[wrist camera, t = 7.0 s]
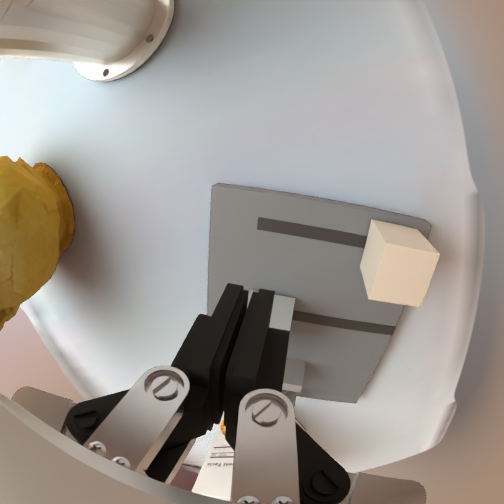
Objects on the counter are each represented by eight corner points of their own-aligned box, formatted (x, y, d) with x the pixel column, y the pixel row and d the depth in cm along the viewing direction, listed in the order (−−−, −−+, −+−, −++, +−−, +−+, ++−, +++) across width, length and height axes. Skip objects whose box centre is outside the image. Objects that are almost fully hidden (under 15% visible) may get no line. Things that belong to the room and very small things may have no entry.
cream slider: (371, 219, 20) (385, 242, 16) (417, 229, 20) (440, 254, 15) (359, 266, 22) (368, 299, 17) (403, 274, 21) (420, 307, 17)
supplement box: (307, 430, 35) (293, 520, 21) (255, 437, 38) (231, 517, 24) (279, 396, 32) (254, 502, 19) (223, 406, 36) (187, 495, 22)
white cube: (250, 289, 25) (234, 323, 20) (295, 298, 24) (289, 334, 20) (246, 325, 27) (232, 360, 22) (287, 333, 26) (280, 371, 21)
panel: (217, 183, 24) (194, 195, 19) (425, 220, 21) (447, 240, 16) (211, 367, 33) (197, 397, 28) (355, 394, 30) (356, 426, 25)
